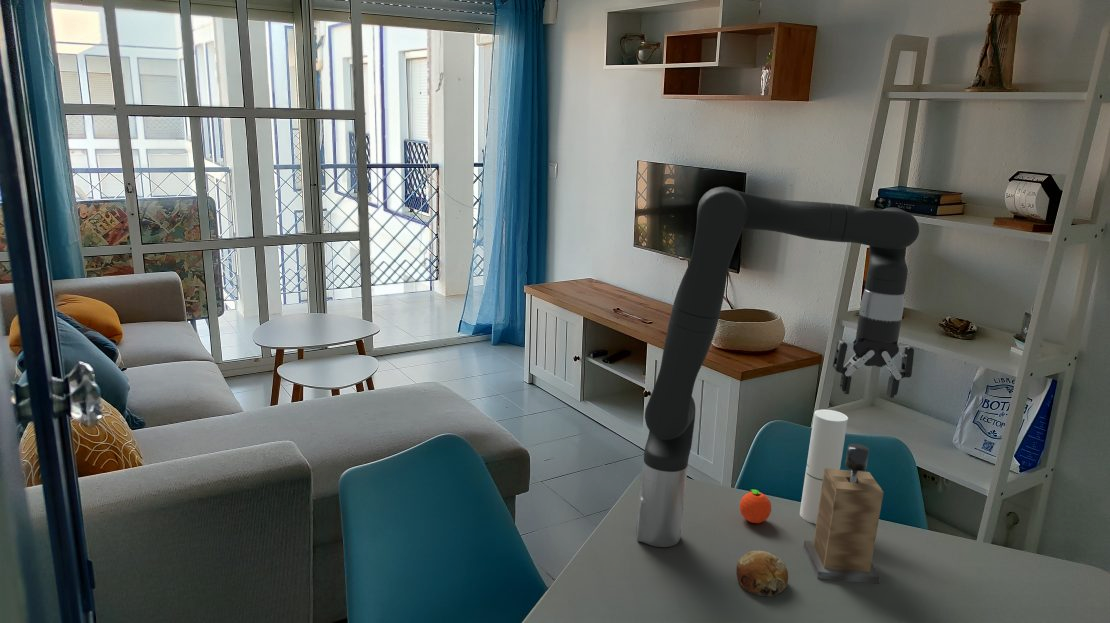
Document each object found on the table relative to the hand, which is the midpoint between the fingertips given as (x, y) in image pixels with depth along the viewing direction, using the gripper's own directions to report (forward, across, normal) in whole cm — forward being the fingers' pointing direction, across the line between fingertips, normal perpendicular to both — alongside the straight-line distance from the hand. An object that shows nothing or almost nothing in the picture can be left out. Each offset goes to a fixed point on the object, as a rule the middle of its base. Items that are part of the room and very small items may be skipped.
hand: (867, 394), depth 156 cm
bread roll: (+38, -18, -9) cm, 43 cm away
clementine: (+37, -15, +16) cm, 43 cm away
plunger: (+35, 0, 0) cm, 35 cm away
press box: (+37, 0, 0) cm, 37 cm away
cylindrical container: (+37, 0, +20) cm, 42 cm away
